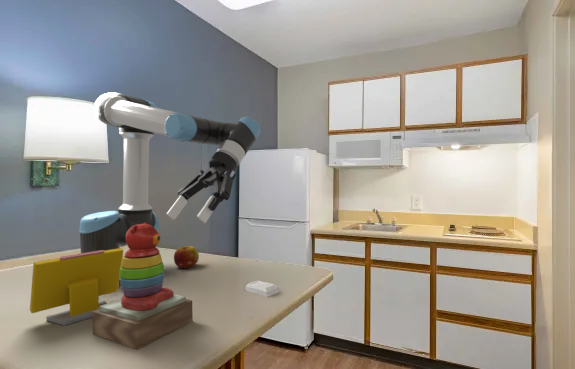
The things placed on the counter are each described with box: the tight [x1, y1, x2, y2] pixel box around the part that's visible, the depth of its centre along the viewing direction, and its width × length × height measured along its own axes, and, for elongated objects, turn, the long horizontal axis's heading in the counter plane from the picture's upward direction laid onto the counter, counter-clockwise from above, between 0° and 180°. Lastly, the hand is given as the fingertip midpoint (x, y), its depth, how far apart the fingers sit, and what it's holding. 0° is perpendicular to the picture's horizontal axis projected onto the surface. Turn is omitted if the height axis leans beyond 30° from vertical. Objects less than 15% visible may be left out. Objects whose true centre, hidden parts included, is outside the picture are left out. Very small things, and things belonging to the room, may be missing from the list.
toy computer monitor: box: [29, 247, 124, 326], centre depth 86 cm, size 20×8×16 cm, turn 141°
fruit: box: [173, 245, 200, 269], centre depth 133 cm, size 10×9×8 cm
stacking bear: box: [119, 223, 174, 310], centre depth 77 cm, size 11×10×18 cm
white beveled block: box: [244, 280, 279, 298], centre depth 101 cm, size 5×9×3 cm, turn 49°
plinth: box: [91, 294, 194, 350], centre depth 77 cm, size 15×15×6 cm
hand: (184, 218), depth 87 cm, fingers open, 13 cm apart
